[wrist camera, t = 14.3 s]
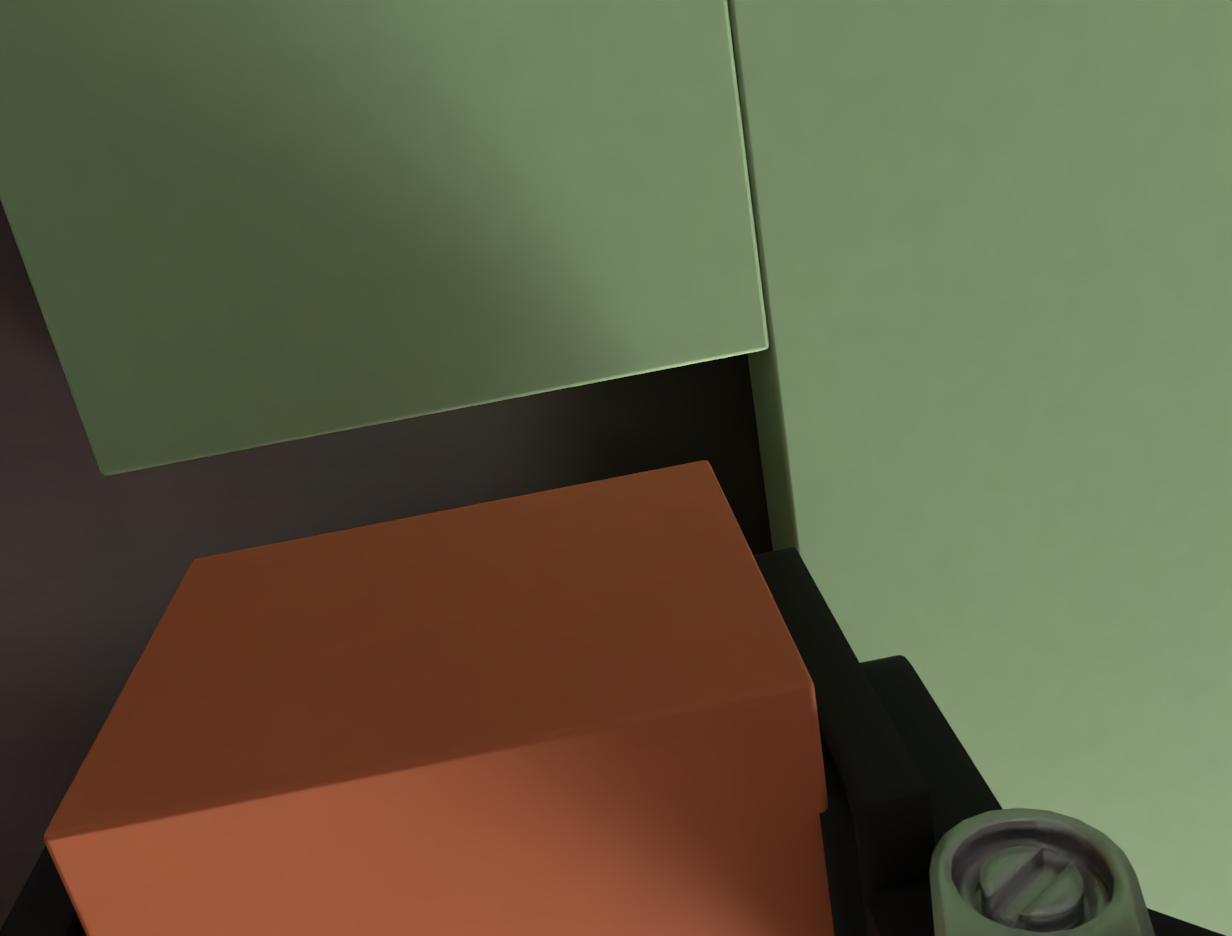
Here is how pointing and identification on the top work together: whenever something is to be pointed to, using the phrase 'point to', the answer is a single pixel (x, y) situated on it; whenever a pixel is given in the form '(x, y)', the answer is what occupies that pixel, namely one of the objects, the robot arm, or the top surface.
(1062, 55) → the green u-shaped slab
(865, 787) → the robot arm
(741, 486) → the top surface
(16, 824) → the top surface
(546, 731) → the orange block
